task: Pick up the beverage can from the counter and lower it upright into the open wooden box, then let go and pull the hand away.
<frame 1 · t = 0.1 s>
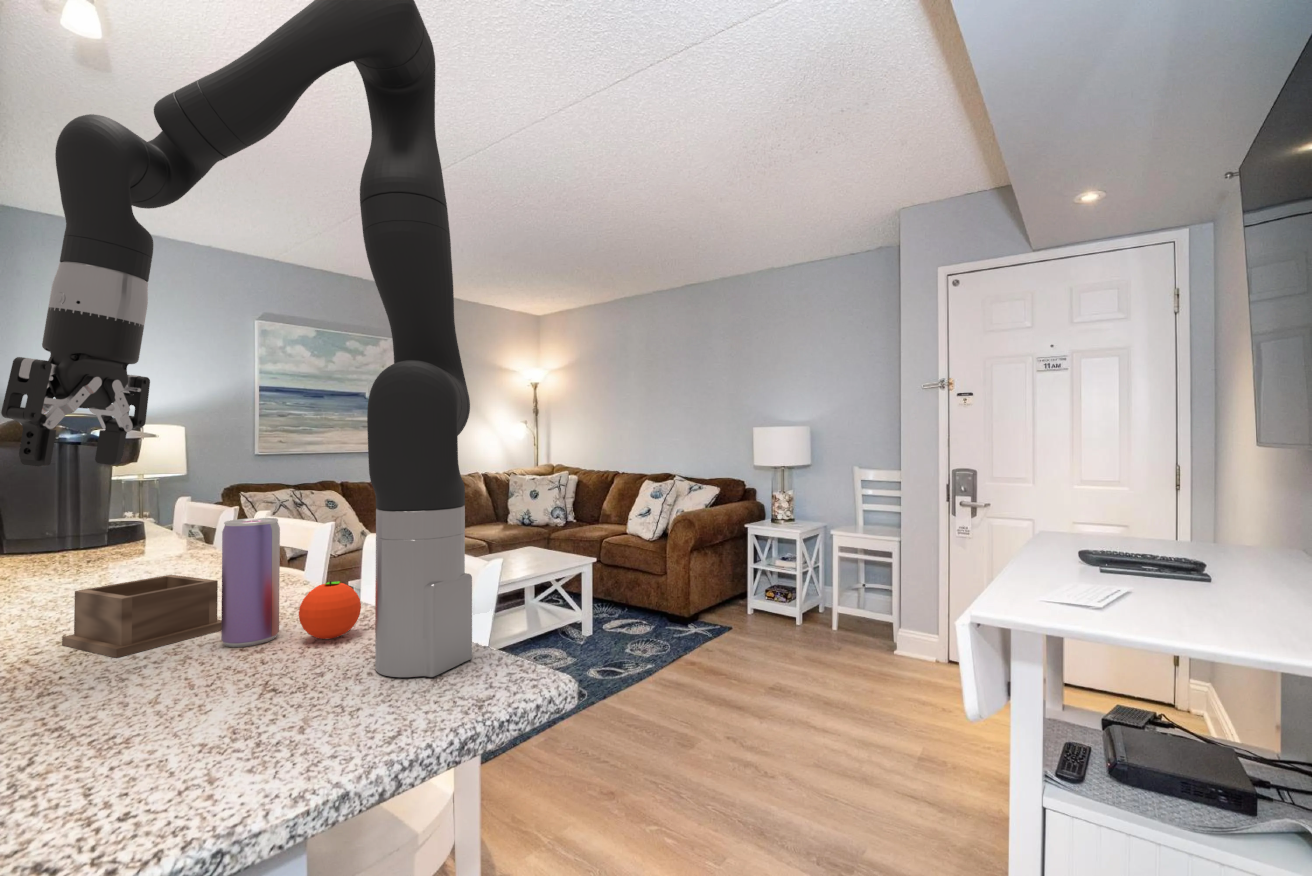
hand: (73, 464, 63), 22 cm above the counter, tool pointing down, fingers open, 8 cm apart
open wooden box: (148, 636, 76), on the counter
clementine: (331, 638, 75), on the counter
beverage can: (250, 642, 74), on the counter
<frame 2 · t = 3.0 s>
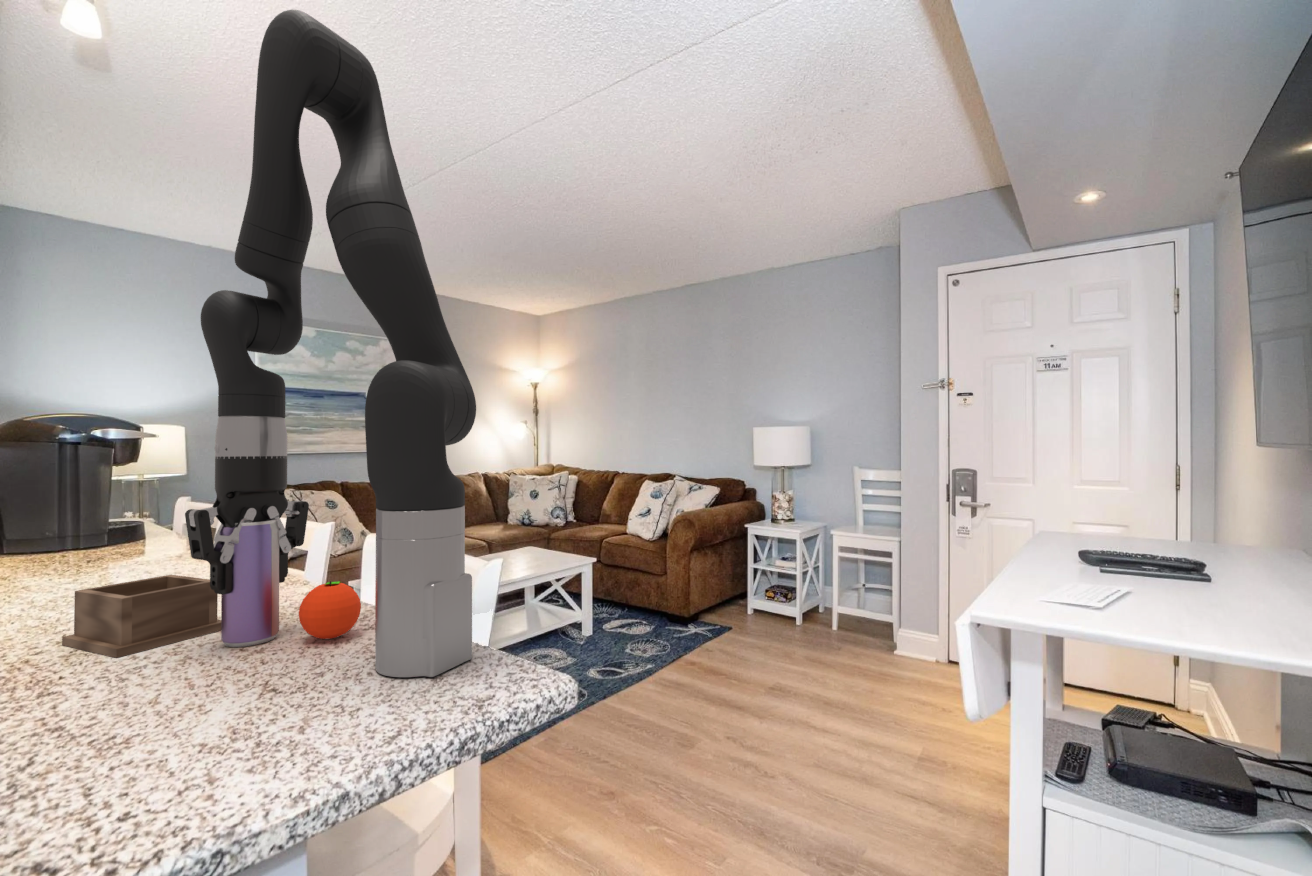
hand: (251, 587, 74), 7 cm above the counter, tool pointing down, fingers closed on beverage can, 6 cm apart
beverage can: (250, 642, 74), on the counter, touching gripper
everything else where it was.
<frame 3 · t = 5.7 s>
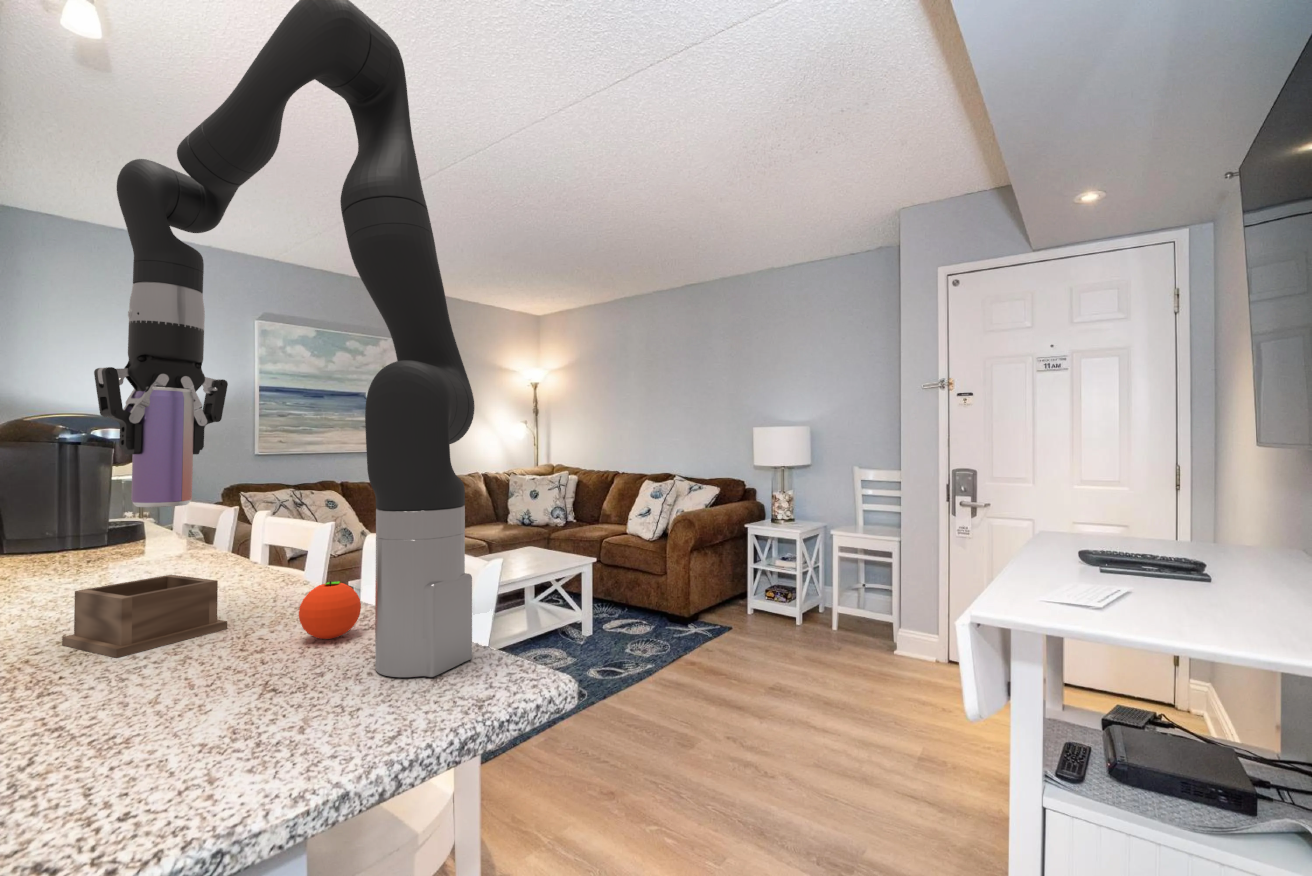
hand: (163, 453, 76), 23 cm above the counter, tool pointing down, fingers closed on beverage can, 6 cm apart
beverage can: (162, 506, 76), point 17 cm above the counter, touching gripper
everything else where it was.
when the fingers open (9 cm above the counter, at t = 8.4 s): beverage can drops 1 cm, resting on open wooden box.
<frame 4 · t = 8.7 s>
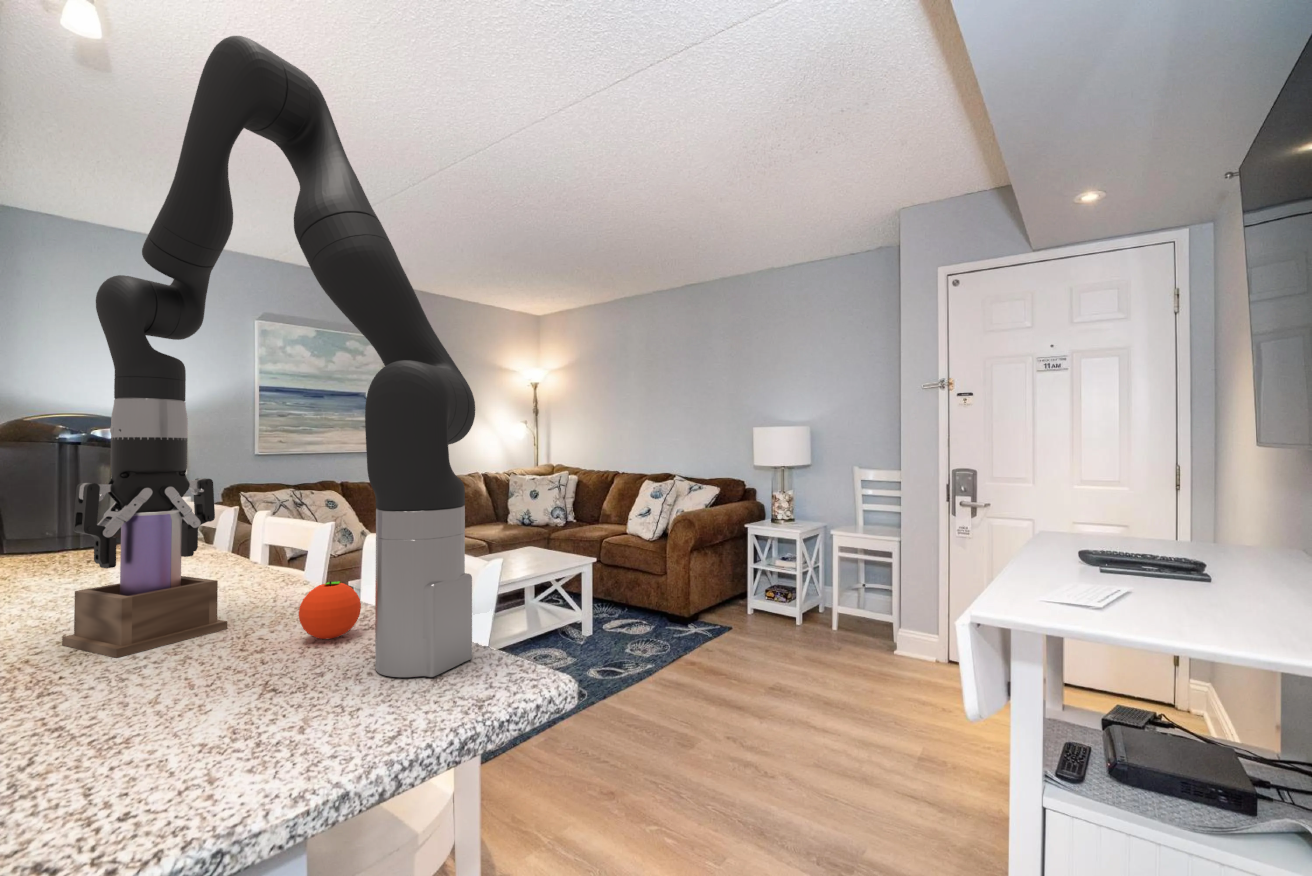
hand: (149, 561, 76), 10 cm above the counter, tool pointing down, fingers open, 8 cm apart
beverage can: (150, 629, 76), point 1 cm above the counter, touching open wooden box
everything else where it was.
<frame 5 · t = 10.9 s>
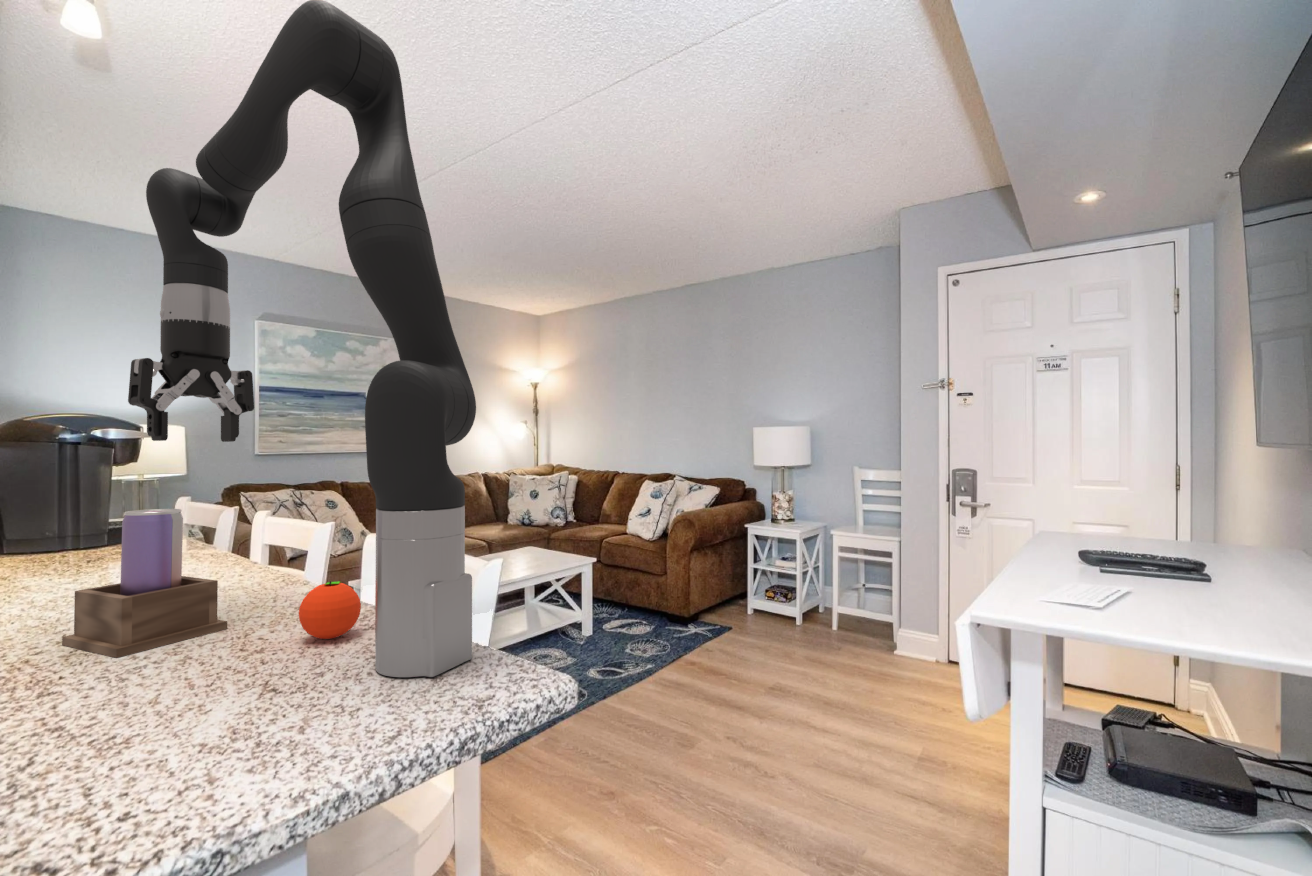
hand: (195, 441, 80), 25 cm above the counter, tool pointing down, fingers open, 8 cm apart
nothing on the counter moved.
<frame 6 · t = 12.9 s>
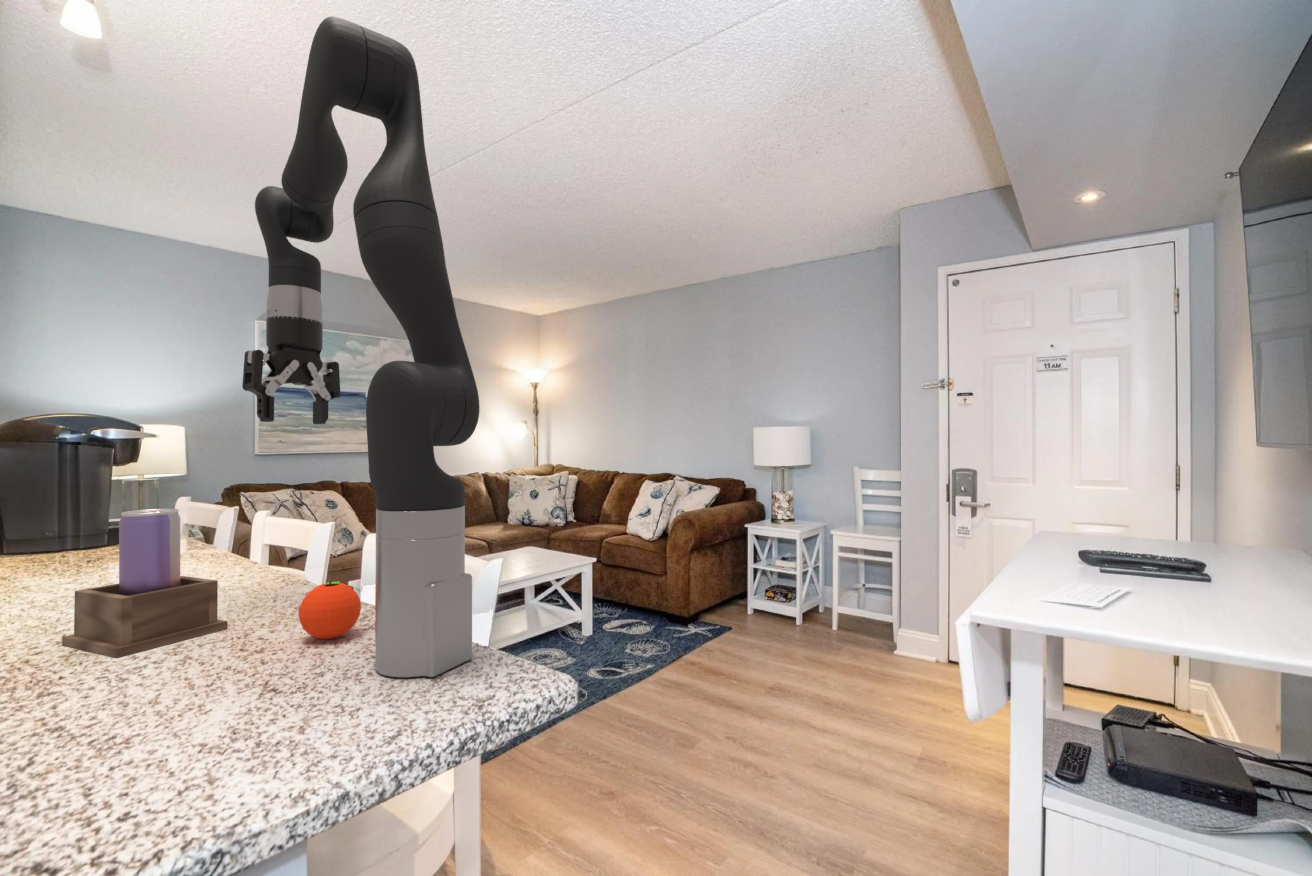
hand: (294, 422, 92), 28 cm above the counter, tool pointing down, fingers open, 8 cm apart
nothing on the counter moved.
at the end: beverage can 0.3 cm off-centre on the open wooden box, point 0.9 cm above the open wooden box's base; beverage can tilted 1°; the gripper is holding nothing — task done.
